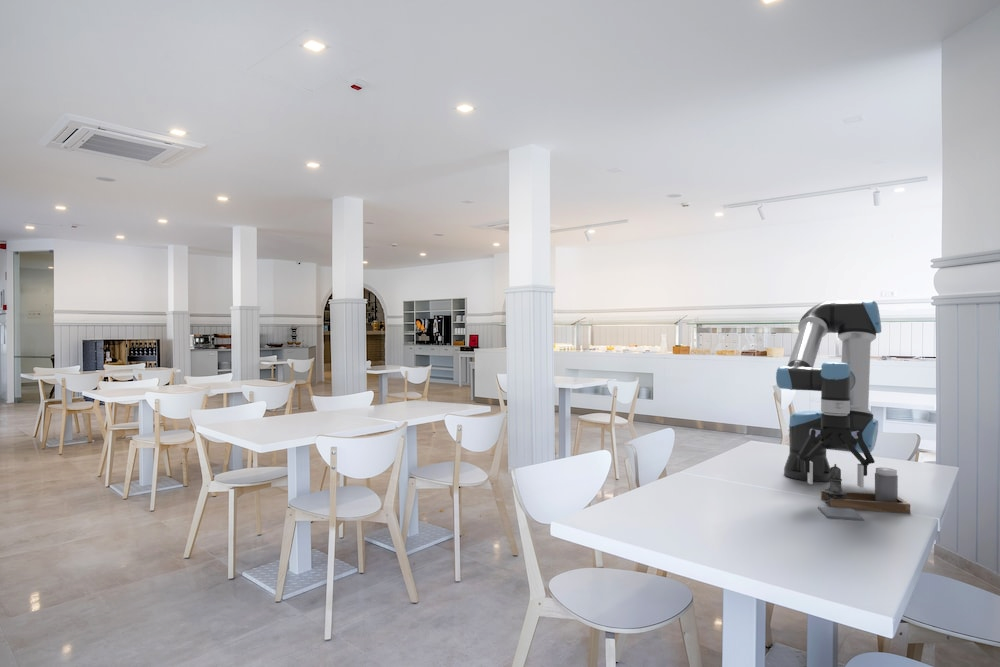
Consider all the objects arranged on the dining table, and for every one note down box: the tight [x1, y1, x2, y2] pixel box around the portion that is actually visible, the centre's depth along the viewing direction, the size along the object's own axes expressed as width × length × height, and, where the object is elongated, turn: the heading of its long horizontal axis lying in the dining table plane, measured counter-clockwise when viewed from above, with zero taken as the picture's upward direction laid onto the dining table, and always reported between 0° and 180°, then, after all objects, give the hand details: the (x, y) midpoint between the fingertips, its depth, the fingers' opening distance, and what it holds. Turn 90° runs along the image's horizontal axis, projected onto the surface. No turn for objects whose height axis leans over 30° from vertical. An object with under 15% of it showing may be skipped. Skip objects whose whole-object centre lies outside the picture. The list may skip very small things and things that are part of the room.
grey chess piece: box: [823, 463, 847, 506], centre depth 173 cm, size 6×6×12 cm
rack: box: [820, 489, 911, 514], centre depth 171 cm, size 10×20×2 cm, turn 76°
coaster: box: [817, 505, 865, 521], centre depth 163 cm, size 9×9×1 cm
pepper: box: [874, 466, 899, 503], centre depth 170 cm, size 6×6×11 cm
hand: (835, 485), depth 173 cm, fingers open, 13 cm apart
